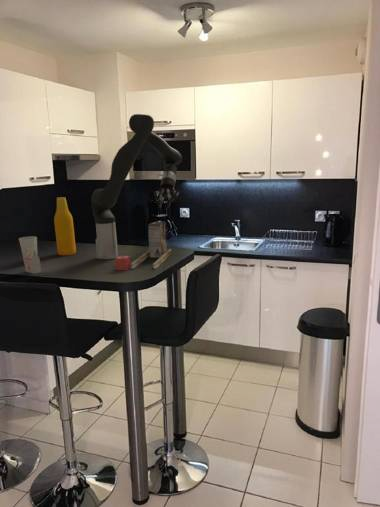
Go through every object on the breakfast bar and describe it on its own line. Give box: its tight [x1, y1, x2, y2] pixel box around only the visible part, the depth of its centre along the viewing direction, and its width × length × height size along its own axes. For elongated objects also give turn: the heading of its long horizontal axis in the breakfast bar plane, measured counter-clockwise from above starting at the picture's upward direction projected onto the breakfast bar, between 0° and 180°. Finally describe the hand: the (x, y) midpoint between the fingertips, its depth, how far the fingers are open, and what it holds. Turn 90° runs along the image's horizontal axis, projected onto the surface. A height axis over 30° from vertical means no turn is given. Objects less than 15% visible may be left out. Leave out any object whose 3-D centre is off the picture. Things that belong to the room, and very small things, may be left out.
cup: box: [18, 235, 38, 260], centre depth 196 cm, size 8×8×12 cm
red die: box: [114, 255, 132, 271], centre depth 178 cm, size 5×5×5 cm
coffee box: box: [147, 221, 168, 258], centre depth 199 cm, size 9×6×16 cm
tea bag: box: [23, 249, 42, 275], centre depth 179 cm, size 4×7×10 cm, turn 49°
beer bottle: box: [53, 196, 77, 256], centre depth 210 cm, size 9×9×29 cm
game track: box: [130, 248, 173, 270], centre depth 191 cm, size 11×30×2 cm, turn 169°
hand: (163, 206), depth 211 cm, fingers open, 3 cm apart
